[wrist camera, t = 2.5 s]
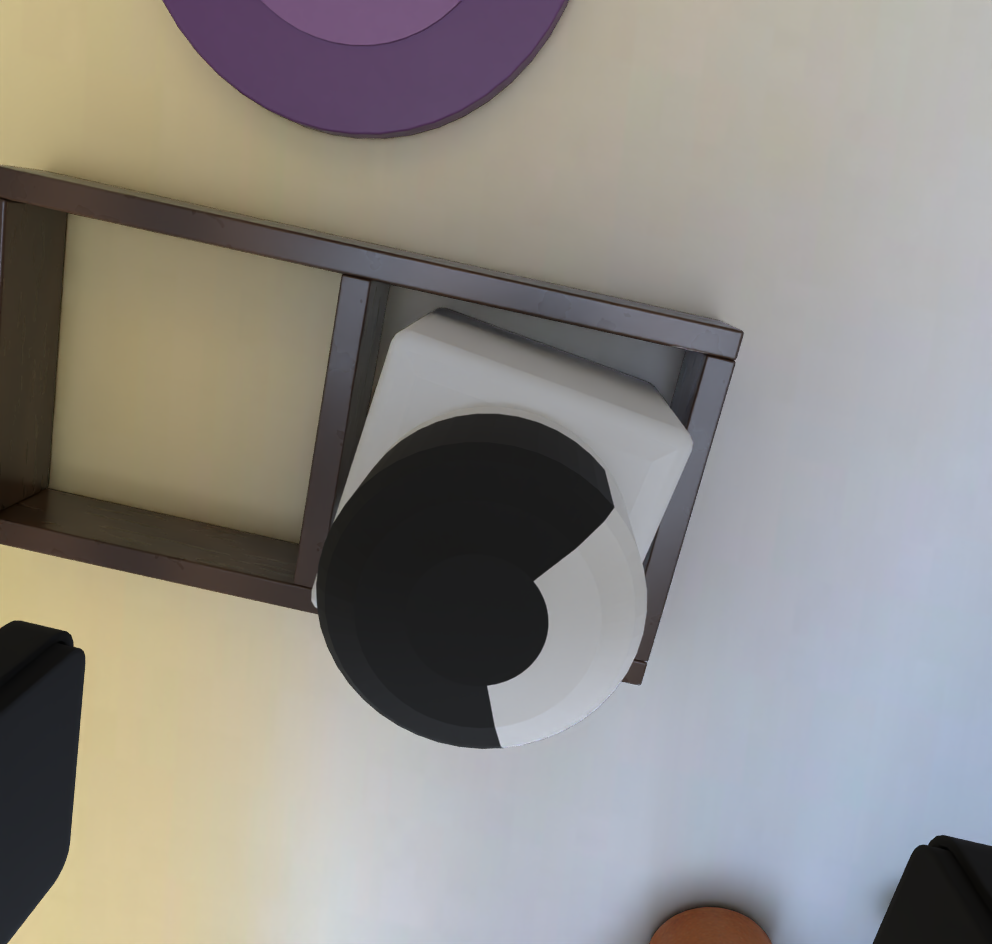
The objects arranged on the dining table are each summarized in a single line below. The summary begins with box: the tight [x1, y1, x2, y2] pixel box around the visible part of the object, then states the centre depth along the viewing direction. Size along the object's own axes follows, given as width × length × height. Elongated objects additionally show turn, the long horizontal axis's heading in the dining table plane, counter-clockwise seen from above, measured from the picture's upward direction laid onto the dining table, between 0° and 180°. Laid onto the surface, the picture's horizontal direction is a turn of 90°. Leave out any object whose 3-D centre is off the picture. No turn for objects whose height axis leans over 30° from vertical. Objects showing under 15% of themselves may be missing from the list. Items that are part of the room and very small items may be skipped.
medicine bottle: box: [311, 308, 693, 749], centre depth 20 cm, size 7×7×12 cm
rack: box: [0, 165, 744, 685], centre depth 25 cm, size 20×11×3 cm, turn 78°
